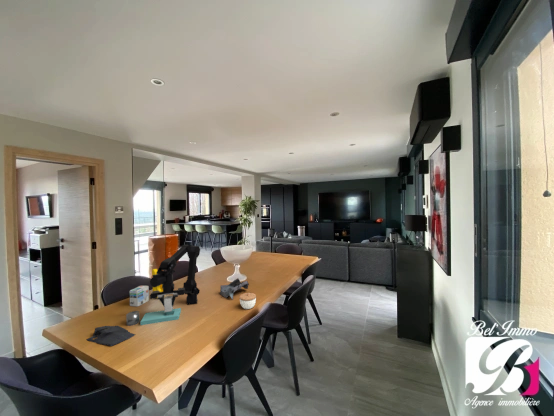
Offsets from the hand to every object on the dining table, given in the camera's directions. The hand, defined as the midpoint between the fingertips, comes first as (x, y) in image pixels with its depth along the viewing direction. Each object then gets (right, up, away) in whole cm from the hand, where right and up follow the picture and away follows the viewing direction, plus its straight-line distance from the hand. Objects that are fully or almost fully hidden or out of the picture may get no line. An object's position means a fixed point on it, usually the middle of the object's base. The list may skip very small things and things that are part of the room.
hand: (168, 306), depth 138 cm
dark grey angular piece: (+34, -6, +35) cm, 49 cm away
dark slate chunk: (-20, -8, -20) cm, 29 cm away
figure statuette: (-23, -7, +31) cm, 39 cm away
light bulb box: (-31, -7, +22) cm, 39 cm away
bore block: (-4, -7, -1) cm, 8 cm away
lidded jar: (+47, -5, +10) cm, 49 cm away
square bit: (0, -2, 0) cm, 2 cm away
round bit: (-18, -7, -6) cm, 20 cm away
